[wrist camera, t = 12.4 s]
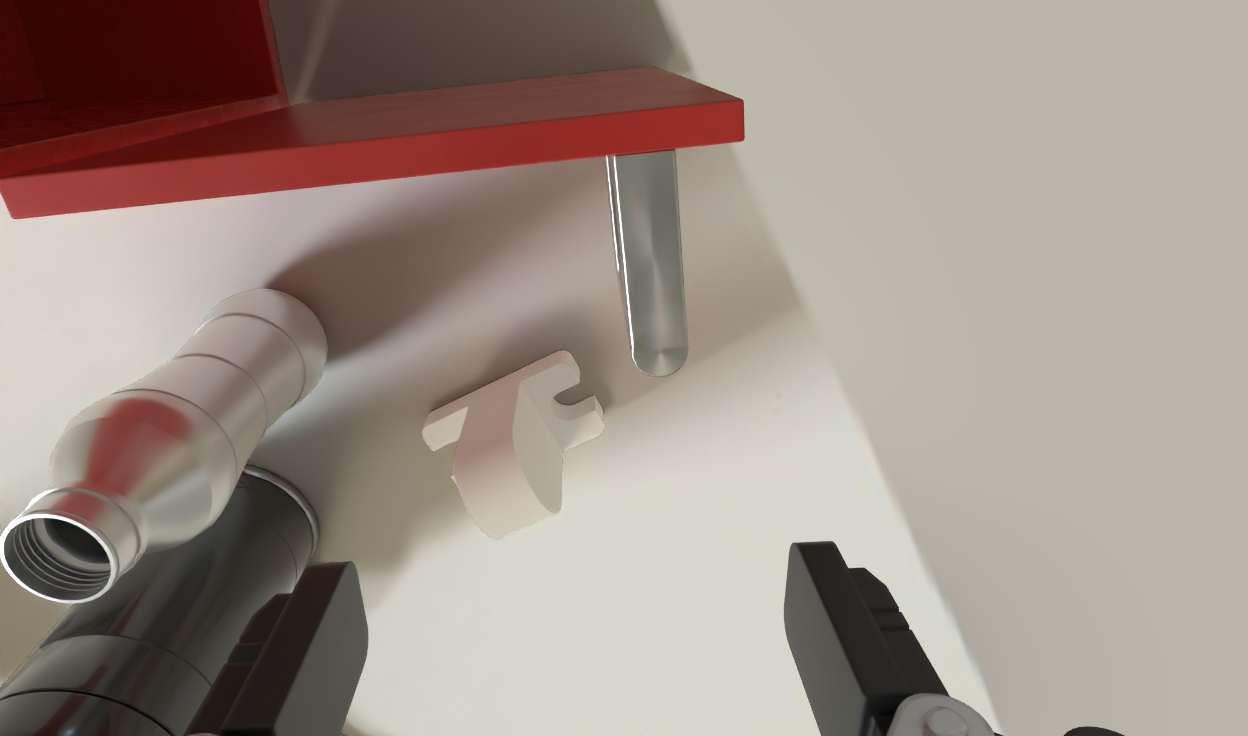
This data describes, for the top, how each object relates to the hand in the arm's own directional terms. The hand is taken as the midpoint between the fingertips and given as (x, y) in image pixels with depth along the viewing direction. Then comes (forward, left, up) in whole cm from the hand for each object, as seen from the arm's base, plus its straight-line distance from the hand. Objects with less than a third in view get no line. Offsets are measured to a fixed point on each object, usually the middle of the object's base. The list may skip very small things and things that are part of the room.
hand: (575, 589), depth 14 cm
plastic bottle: (-6, +17, -30) cm, 35 cm away
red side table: (+4, +4, -30) cm, 30 cm away
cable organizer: (-12, +4, -30) cm, 32 cm away
